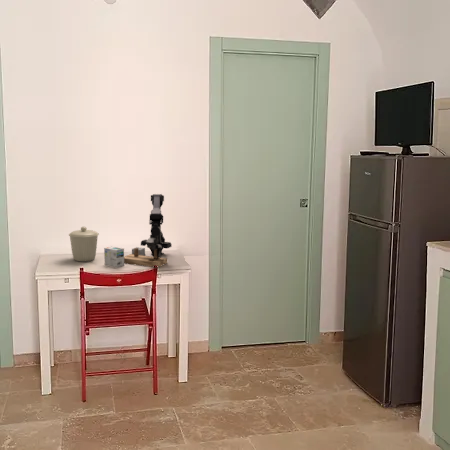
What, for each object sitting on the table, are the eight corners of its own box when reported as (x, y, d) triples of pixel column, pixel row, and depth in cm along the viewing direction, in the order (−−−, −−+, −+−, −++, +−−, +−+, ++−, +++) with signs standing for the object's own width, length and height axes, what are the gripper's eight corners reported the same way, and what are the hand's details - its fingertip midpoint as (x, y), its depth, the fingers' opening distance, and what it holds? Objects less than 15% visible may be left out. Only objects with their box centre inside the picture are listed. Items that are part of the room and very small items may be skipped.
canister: (102, 257, 378) (102, 224, 374) (93, 263, 360) (93, 229, 356) (75, 255, 379) (74, 223, 376) (65, 262, 362) (64, 228, 358)
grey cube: (136, 256, 382) (136, 247, 380) (144, 257, 379) (144, 248, 378) (131, 258, 376) (131, 249, 375) (140, 259, 374) (140, 250, 373)
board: (131, 258, 375) (130, 246, 374) (167, 263, 365) (167, 250, 364) (120, 262, 364) (120, 250, 363) (157, 267, 354) (157, 254, 353)
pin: (155, 260, 366) (155, 249, 365) (158, 260, 365) (158, 249, 364) (153, 261, 363) (153, 249, 362) (156, 261, 362) (156, 250, 361)
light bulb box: (124, 265, 358) (124, 248, 356) (116, 267, 352) (116, 250, 350) (112, 262, 364) (111, 245, 362) (104, 265, 358) (103, 247, 356)
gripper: (135, 233, 357) (136, 258, 360) (163, 236, 350) (163, 262, 353) (145, 230, 367) (145, 254, 370) (172, 233, 360) (171, 258, 363)
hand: (156, 257), depth 364 cm, fingers closed on pin, 3 cm apart
